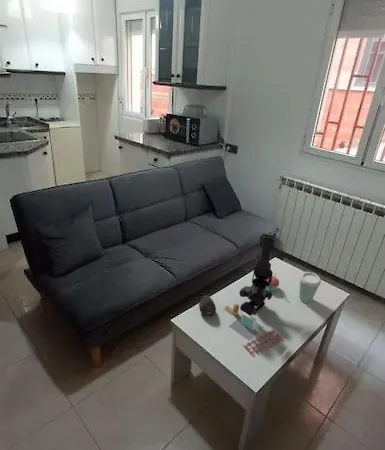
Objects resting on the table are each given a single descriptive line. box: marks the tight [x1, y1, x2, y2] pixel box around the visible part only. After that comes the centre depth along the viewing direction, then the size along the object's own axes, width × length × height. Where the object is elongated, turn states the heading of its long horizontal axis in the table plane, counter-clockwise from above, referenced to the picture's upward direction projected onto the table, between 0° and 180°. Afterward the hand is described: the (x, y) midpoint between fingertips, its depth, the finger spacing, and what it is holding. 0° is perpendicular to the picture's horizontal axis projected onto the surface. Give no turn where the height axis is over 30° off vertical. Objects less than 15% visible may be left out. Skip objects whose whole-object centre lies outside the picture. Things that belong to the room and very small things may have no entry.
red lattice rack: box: [242, 329, 285, 358], centre depth 139 cm, size 7×19×2 cm, turn 122°
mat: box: [228, 315, 265, 342], centre depth 147 cm, size 12×12×1 cm
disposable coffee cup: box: [298, 271, 322, 304], centre depth 165 cm, size 11×11×15 cm
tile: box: [241, 311, 257, 330], centre depth 146 cm, size 2×7×6 cm, turn 46°
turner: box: [222, 303, 240, 317], centre depth 154 cm, size 4×8×6 cm, turn 46°
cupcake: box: [266, 273, 280, 292], centre depth 172 cm, size 9×8×12 cm
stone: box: [198, 294, 217, 316], centre depth 152 cm, size 8×8×10 cm
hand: (254, 314), depth 149 cm, fingers closed
